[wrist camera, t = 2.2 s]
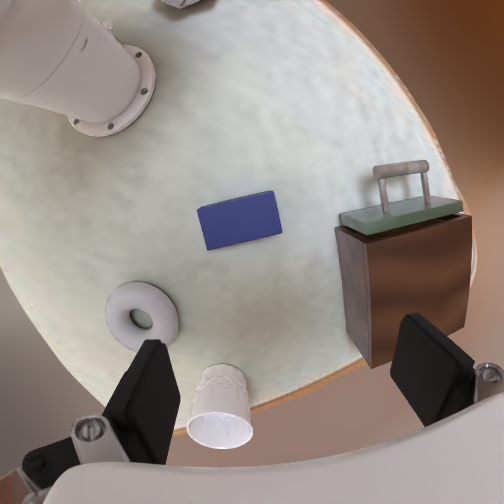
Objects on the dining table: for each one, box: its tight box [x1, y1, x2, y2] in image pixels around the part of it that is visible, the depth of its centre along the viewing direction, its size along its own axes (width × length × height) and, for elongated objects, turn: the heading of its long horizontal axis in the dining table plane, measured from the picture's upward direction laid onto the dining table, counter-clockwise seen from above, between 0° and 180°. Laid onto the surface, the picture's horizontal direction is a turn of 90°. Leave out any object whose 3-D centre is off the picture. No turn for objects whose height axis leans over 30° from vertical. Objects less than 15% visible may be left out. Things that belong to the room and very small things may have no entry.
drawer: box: [340, 160, 463, 240], centre depth 28 cm, size 18×14×7 cm
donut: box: [105, 281, 179, 352], centre depth 32 cm, size 10×4×10 cm
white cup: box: [187, 364, 253, 449], centre depth 32 cm, size 8×8×10 cm
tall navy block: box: [197, 191, 282, 250], centre depth 29 cm, size 8×4×3 cm, turn 103°
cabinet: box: [335, 213, 472, 369], centre depth 29 cm, size 15×15×9 cm
